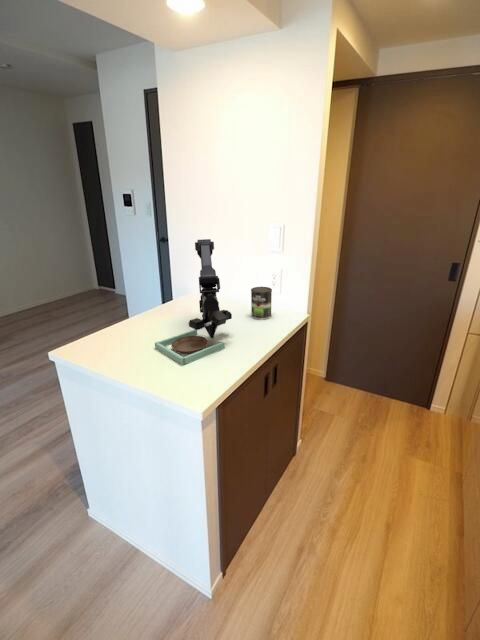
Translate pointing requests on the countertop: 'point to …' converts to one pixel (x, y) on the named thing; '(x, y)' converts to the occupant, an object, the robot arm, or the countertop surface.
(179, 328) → the countertop surface
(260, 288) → the coffee can
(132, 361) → the countertop surface
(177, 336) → the tray
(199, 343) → the saucer
